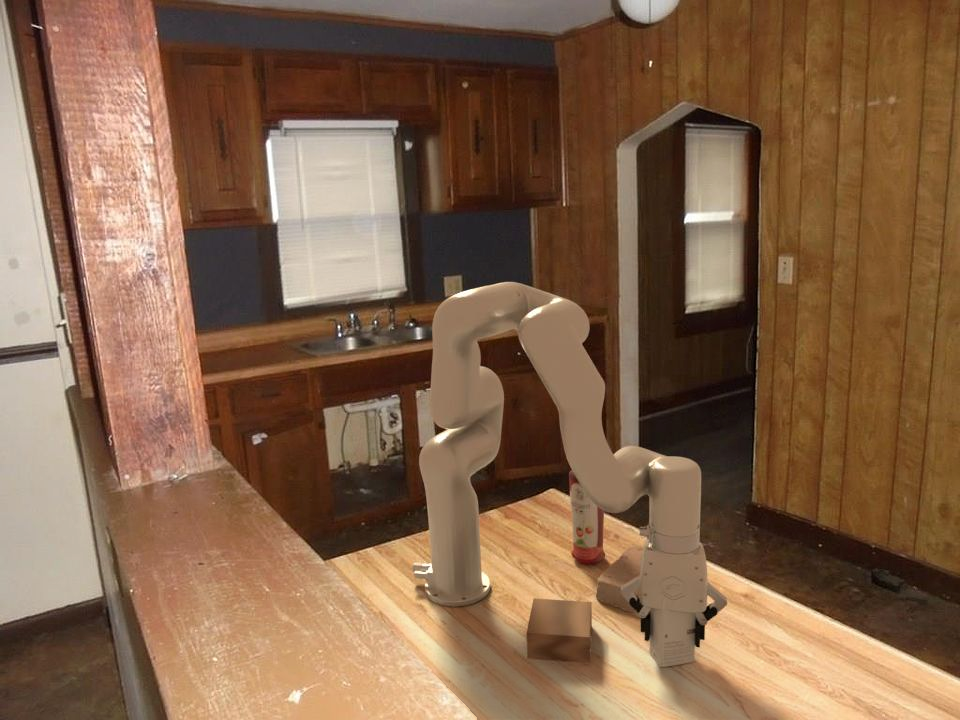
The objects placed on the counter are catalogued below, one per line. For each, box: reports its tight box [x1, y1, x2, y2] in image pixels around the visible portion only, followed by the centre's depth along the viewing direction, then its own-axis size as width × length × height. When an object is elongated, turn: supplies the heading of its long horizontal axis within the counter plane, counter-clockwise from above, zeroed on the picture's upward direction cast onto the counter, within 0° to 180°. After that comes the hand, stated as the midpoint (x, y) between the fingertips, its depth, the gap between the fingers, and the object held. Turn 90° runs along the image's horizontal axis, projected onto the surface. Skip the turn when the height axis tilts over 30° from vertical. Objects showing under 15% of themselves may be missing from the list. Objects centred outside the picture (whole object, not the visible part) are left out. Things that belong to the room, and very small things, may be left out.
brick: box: [595, 544, 644, 613], centre depth 132 cm, size 17×8×5 cm, turn 144°
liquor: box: [568, 469, 606, 566], centre depth 140 cm, size 7×7×28 cm
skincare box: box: [648, 598, 696, 668], centre depth 111 cm, size 6×4×12 cm
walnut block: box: [526, 597, 593, 665], centre depth 117 cm, size 10×10×5 cm
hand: (672, 638), depth 111 cm, fingers closed on skincare box, 7 cm apart
